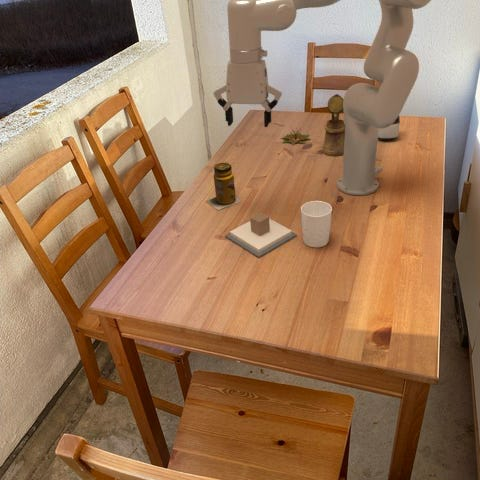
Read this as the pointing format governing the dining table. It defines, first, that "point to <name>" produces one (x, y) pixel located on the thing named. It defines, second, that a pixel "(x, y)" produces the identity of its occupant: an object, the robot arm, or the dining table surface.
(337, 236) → the dining table surface
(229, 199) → the condiment
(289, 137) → the green leafy plant
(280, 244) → the grey flat square slab
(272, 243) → the lid
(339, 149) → the brass finial ornament
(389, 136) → the spread jar
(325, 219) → the white cup
